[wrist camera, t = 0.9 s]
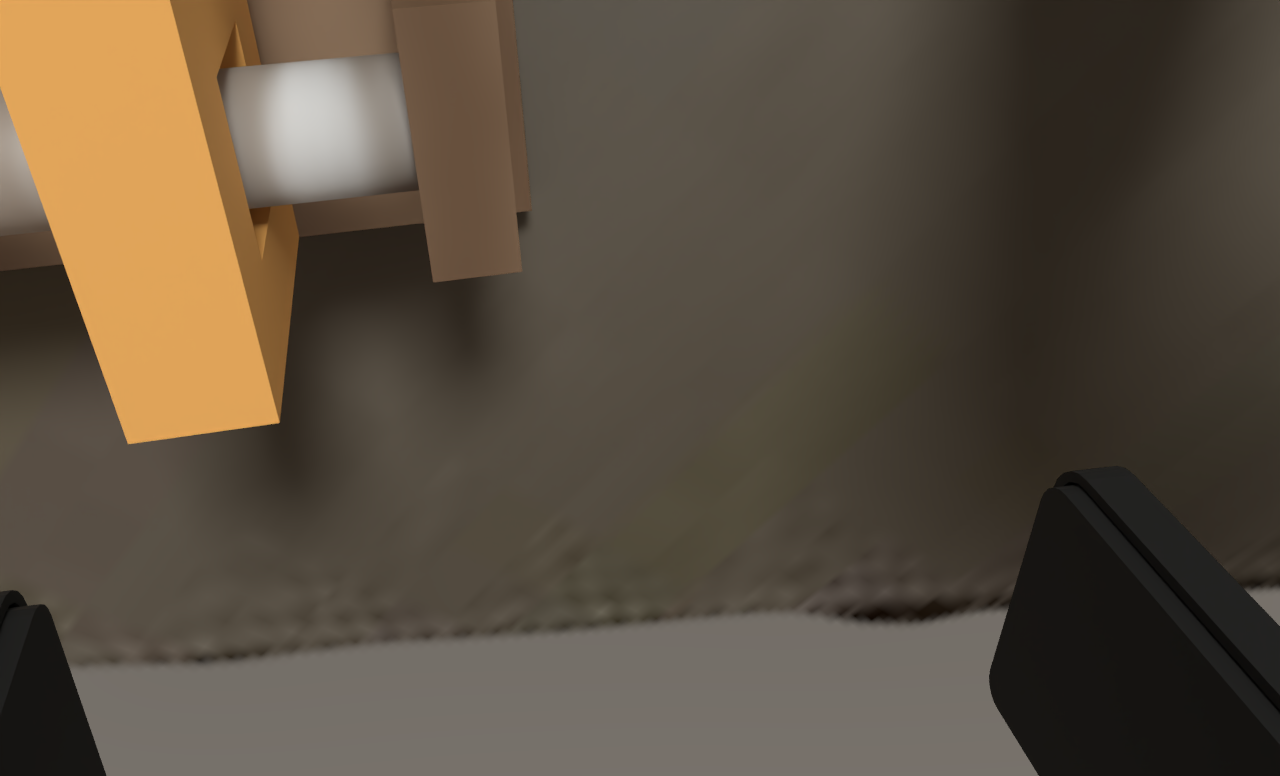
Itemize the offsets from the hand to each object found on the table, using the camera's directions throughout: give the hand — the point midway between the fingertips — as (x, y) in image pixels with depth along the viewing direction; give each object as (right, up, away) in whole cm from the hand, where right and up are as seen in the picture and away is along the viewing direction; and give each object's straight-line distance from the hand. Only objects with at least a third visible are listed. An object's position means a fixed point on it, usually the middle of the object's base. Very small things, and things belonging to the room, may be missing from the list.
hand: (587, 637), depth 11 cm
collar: (-10, +10, +17) cm, 22 cm away
